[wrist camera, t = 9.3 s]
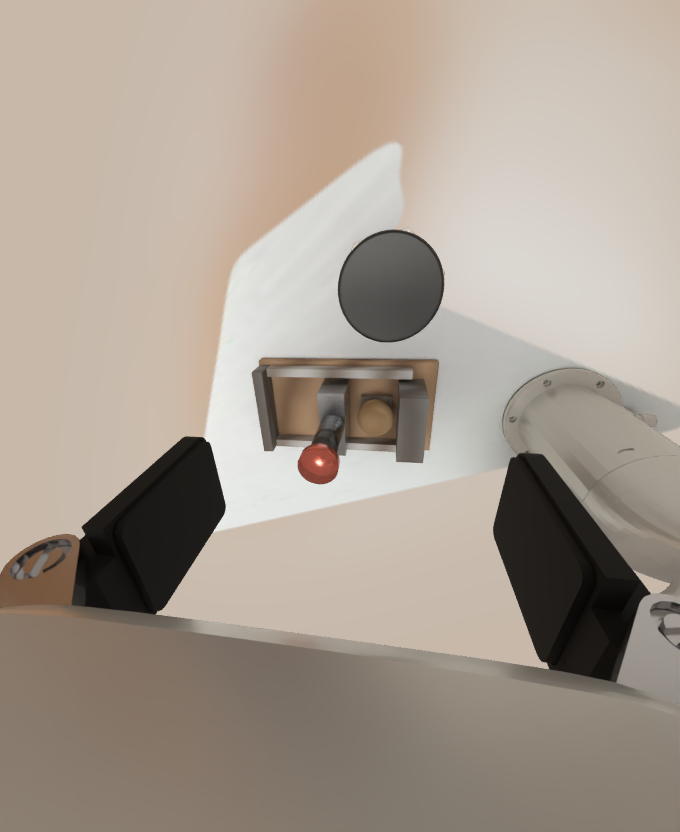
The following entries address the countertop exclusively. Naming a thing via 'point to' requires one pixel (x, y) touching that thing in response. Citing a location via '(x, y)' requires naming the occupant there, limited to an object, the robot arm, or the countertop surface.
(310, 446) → the handle
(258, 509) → the countertop surface
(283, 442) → the press base
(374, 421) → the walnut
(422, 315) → the jar
